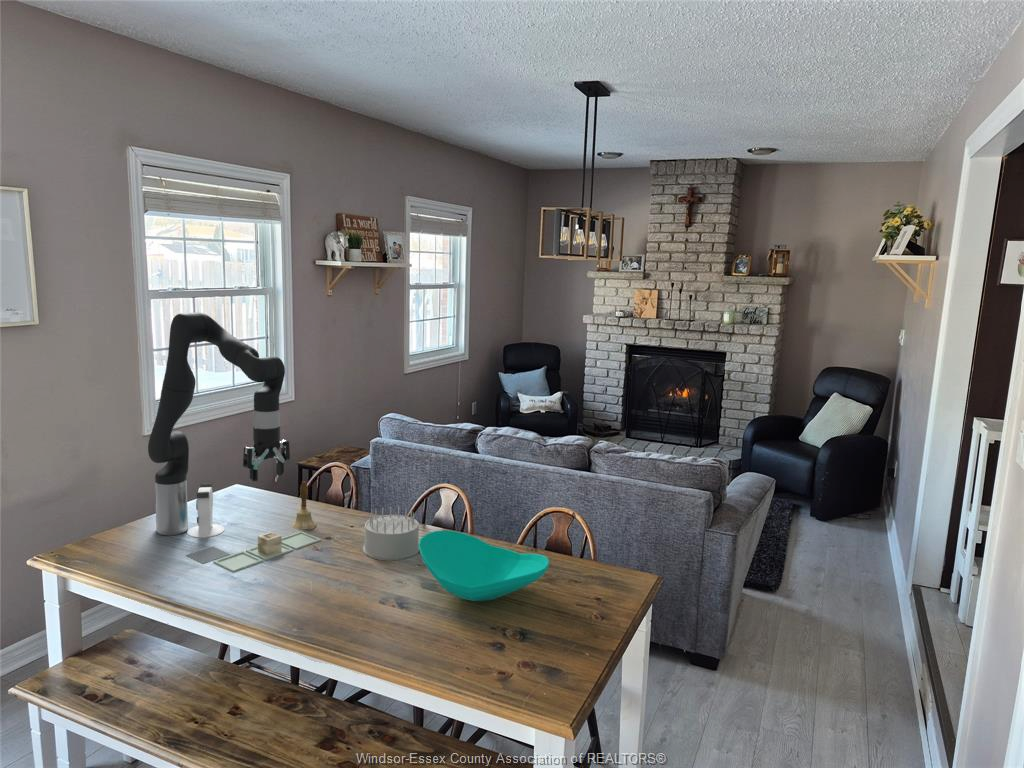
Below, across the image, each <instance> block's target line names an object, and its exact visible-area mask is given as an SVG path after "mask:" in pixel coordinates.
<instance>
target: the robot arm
mask: <svg viewBox="0 0 1024 768" xmlns="http://www.w3.org/2000/svg"><path fill="white" fill-rule="evenodd" d="M169 329H170V330H169V341H168V354H167V359H166V365H165V366H166V367H165V373H164V376H163V381H162V386H161V390H160V397H159V402H158V403H159V404H158V409H157V412H156V415H155V419H154V423H153V427H152V429H151V433H150V436H149V438H148V444H147V452H148V457H149V459H150V460H151V462H153V463H155V464H163V463H166V464H165V465H164V466H163V467H162V468H160V469H159V470H158V471H157V472H156V473H155V475H154V481H155V485H154V486H155V503H154V504H155V524H156V528H155V529H156V532H157V534H158V535H162V536H176V535H180V534H182V533H183V534H184V533H185V532H187V531H188V530H189V521H188V520H189V519H188V517H189V516H188V490H187V489H188V487H187V482H188V481H187V475H188V472H189V460H190V459H189V457H190V456H189V455H190V453H189V452H190V447H189V445H190V444H189V440H188V438H187V436H186V434H185V433H183V431H179V430H174V431H173V429H174V428H175V425H176V424H177V422H178V421H179V420H180V418H181V417H182V416H183V414H185V412H186V411H187V410H188V408H189V407H190V405H191V403H192V402H193V399H194V395H195V389H196V378H195V375H194V372H193V370H192V368H191V366H190V364H189V360H188V356H189V349H190V345H191V344H195V343H202V342H206V343H210V344H212V345H215V346H216V347H217V348H218V351H219V353H220V355H221V356H222V357H223V358H224V360H226V362H227V361H228V363H230V364H232V365H234V366H235V367H238V368H239V369H240V370H241V371H242V372H243V374H245V376H246V377H247V378H248V379H249V380H251V381H252V382H255V383H259V384H260V383H261V384H262V383H263V385H262V387H261V388H259V389H257V390H256V391H254V395H253V414H252V415H253V416H252V423H253V424H252V437H253V438H252V439H253V446H250V447H249V446H248V447H247V446H245V447H243V455H242V456H243V458H242V459H243V460H242V467H244V468H246V469H249V479H250V480H251V481H252V482H256V483H257V482H258V479H259V477H258V474H259V473H258V466H259V465H260V464H261V463H262V462H263V461H264V460H267V459H275V460H276V463H275V466H276V467H275V469H276V470H275V473H276V475H278V476H283V474H284V470H285V462H286V461H289V460H290V459H291V455H290V454H291V453H290V452H291V451H290V441H288V440H286V439H281V413H280V394H281V391H282V387H283V384H284V383H283V382H284V381H285V377H286V376H285V375H286V368H285V363H284V362H283V360H282V359H281V358H280V357H279V356H274V355H273V356H265V357H260V355H259V352H258V351H257V350H256V349H255V348H254V347H252V345H249V344H248V343H245V342H244V341H241V340H240V339H239V338H237V337H235V336H234V335H233V334H231V333H230V332H229V331H227V330H226V329H225V328H224V327H223V326H222V325H220V324H219V323H218V322H217V321H216V320H215V319H213V318H212V317H211V316H210V315H208V314H207V313H204V312H202V311H201V312H199V311H197V312H196V311H195V312H193V311H192V312H180V313H178V314H176V315H174V317H173V318H172V320H171V324H170V328H169ZM279 449H280V451H279Z"/></svg>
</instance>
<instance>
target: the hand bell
mask: <svg viewBox="0 0 1024 768" xmlns="http://www.w3.org/2000/svg"><path fill="white" fill-rule="evenodd" d="M308 494H309V488H308V485H307V481H305V480H303V481H302V482H301V484H300V488H299V495H300V498H301V499H300V500H301V503H300V510H297V512H296V517H295V520H294V522H293V523H292V524H291V527H292V528H293V529H295V530H313V529H315V528H317V523H316V522H315V521H314V520H313V518H312V512H311V510H310V509H307V497H308Z"/></svg>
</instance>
